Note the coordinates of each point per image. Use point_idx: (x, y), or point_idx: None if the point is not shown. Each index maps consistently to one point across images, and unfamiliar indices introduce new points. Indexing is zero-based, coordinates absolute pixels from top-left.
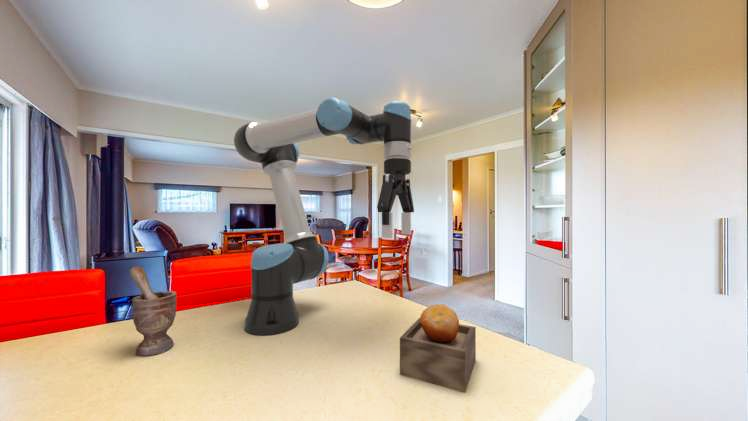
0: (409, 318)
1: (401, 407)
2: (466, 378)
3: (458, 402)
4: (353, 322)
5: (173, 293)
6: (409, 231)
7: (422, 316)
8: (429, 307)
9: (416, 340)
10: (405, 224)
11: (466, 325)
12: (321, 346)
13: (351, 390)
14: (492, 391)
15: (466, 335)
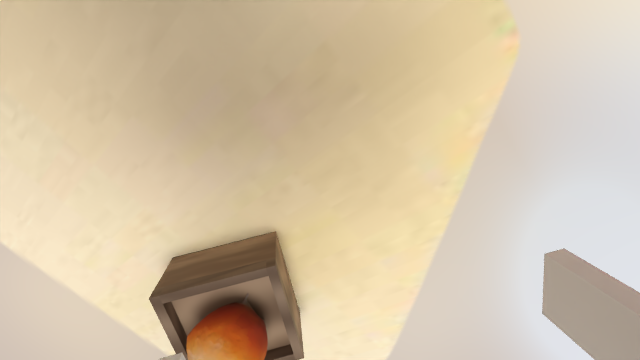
0: (400, 127)
1: (112, 303)
2: None
3: None
4: (281, 19)
5: None
6: (563, 327)
7: (194, 340)
8: (215, 355)
9: (165, 324)
10: (631, 349)
11: (299, 345)
12: (118, 67)
13: (75, 233)
14: None
15: (284, 341)
